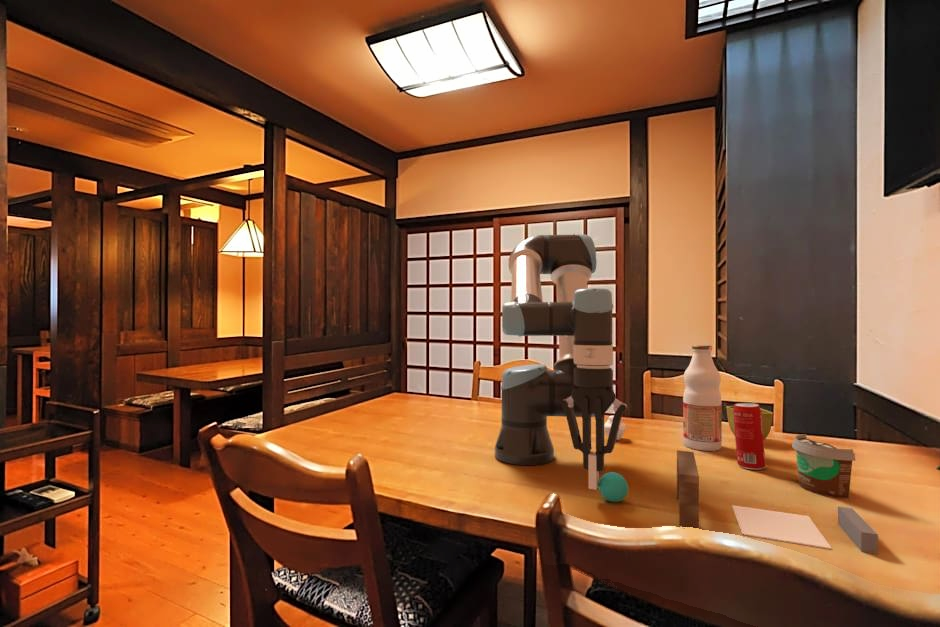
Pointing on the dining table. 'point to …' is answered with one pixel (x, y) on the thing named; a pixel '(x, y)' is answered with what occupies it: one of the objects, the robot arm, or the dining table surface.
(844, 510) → the wall
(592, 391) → the robot arm
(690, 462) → the grey brown rectangular block
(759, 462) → the beverage can
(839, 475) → the food container
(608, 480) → the ball
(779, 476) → the dining table surface
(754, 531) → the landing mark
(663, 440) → the dining table surface
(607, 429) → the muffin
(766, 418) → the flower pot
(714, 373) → the fruit juice
